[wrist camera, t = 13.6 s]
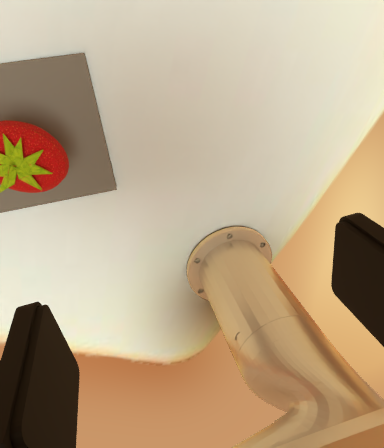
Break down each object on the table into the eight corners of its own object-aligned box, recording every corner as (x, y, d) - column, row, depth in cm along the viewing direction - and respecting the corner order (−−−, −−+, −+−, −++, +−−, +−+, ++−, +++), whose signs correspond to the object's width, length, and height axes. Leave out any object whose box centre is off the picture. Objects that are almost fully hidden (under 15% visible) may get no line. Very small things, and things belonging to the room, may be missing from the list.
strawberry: (60, 180, 36) (53, 223, 28) (-19, 153, 33) (-54, 192, 25) (79, 129, 35) (78, 159, 26) (-2, 95, 31) (-34, 117, 23)
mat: (116, 187, 39) (116, 189, 39) (-13, 212, 37) (-14, 215, 36) (84, 52, 32) (84, 53, 31) (-80, 73, 30) (-82, 74, 29)
